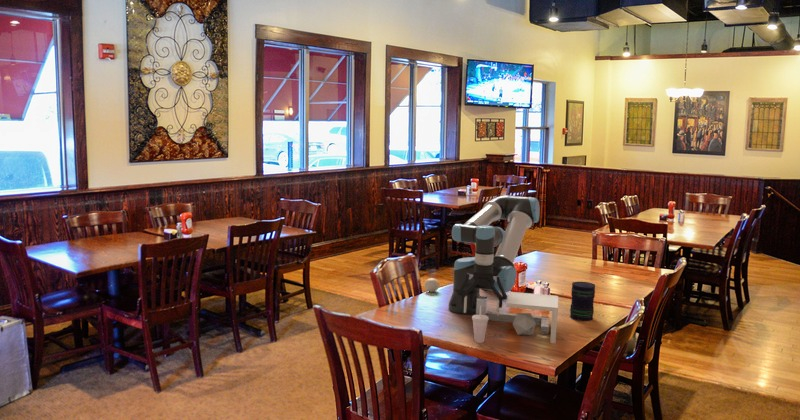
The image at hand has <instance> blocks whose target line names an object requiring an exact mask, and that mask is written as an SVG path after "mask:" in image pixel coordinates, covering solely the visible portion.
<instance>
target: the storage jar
mask: <svg viewBox="0 0 800 420" xmlns="http://www.w3.org/2000/svg"><path fill="white" fill-rule="evenodd" d="M570 291H571V292H570V293H571V294H570V295H571V304H570V310H569V318H571V320H574V321H577V322H591V321H593V319H594V311H595V308H594V300H595V297H596V296H595V295H596V284H595V283H592V282H588V281H574V282H573V281H572V283H571V290H570Z"/></svg>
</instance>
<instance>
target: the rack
mask: <svg viewBox="0 0 800 420" xmlns="http://www.w3.org/2000/svg"><path fill="white" fill-rule="evenodd" d="M505 308H515V309H524V310H525V309H526V310H534V311H537V310H538V311H545V312H546V311H547V312H551V326H550V338H549V339H550V340H549V341H550V342H552V343H551V344H557V343H556V342H557V328H558V327H557V325H558V310H559V309H558V308H559V296H558V295H553V294H552V295H551V294H540V293H530V292H529V293H528V292H516V291H509V292H508V295H507V299H506V304H505ZM550 342H549V343H550Z"/></svg>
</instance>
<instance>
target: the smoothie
mask: <svg viewBox="0 0 800 420" xmlns="http://www.w3.org/2000/svg"><path fill="white" fill-rule="evenodd" d="M471 320H472V328H473V340H474V342H475V343H477V344H482V343H485V338H486V333H487V327H488V322H489V321H490V320H489V317H488V316H486V315H481V305H480V315H476V314H472V316H471Z"/></svg>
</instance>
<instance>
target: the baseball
mask: <svg viewBox="0 0 800 420" xmlns="http://www.w3.org/2000/svg"><path fill="white" fill-rule="evenodd" d="M424 281H425V282H424V285H423V286H424V289H425V291H427V292H429V291H430V292H429V293H434V292H436V291H437V290H439V286H440V282H439V281H438V280H437V279H436V278H433V277H431V278H427V279H426V280H424Z"/></svg>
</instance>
